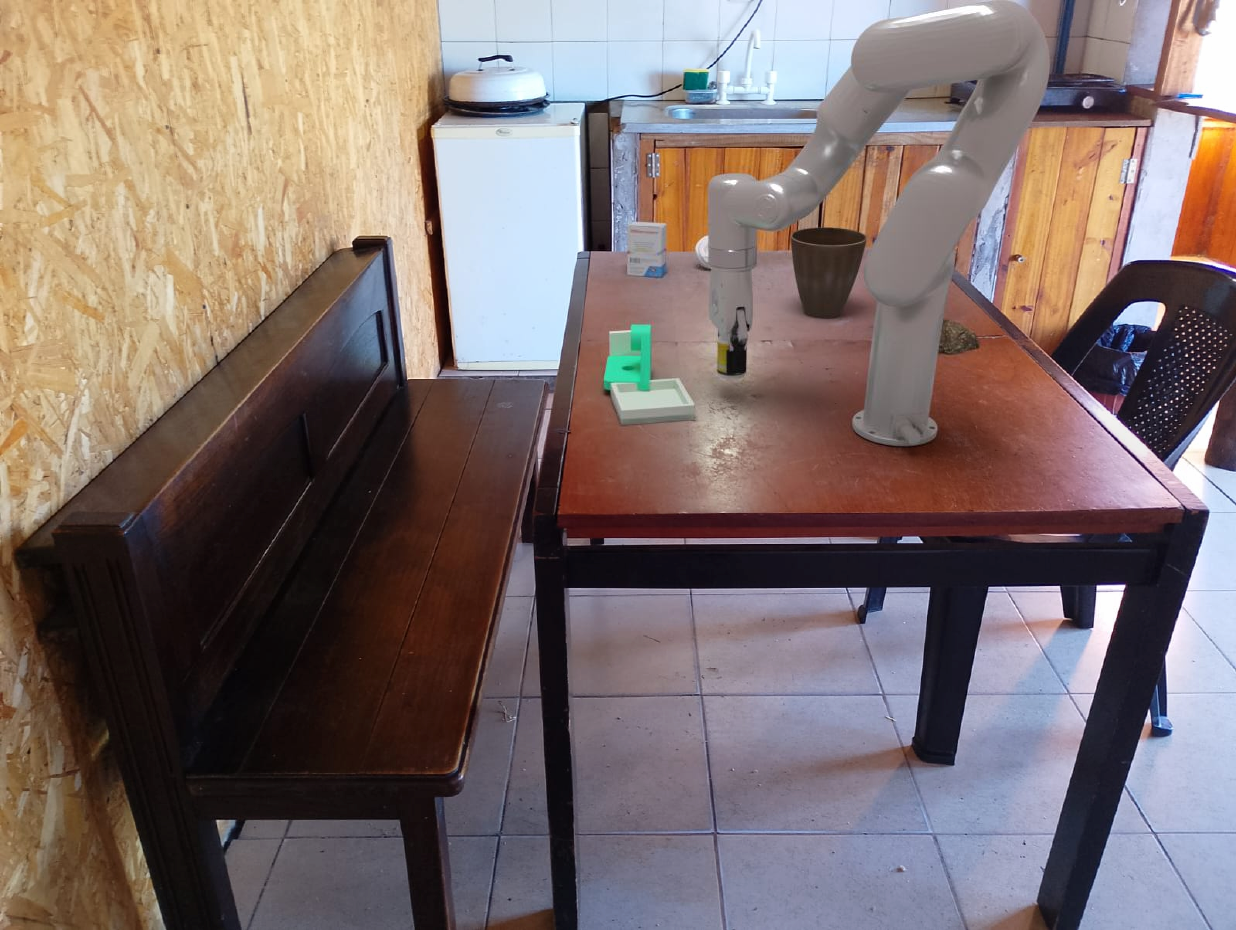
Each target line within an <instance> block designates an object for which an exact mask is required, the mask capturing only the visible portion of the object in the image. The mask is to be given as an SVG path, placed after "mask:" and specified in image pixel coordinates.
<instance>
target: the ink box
mask: <svg viewBox="0 0 1236 930" xmlns="http://www.w3.org/2000/svg"><path fill="white" fill-rule="evenodd" d="M667 227H668V225H667V223H663V222H650V221H649V222H648V221H632V222H631V223H628V224H627V226H626V262H627V263H626V274H627V276H635V277H648V278H662V277H664V275H665V274H666V273H667Z"/></svg>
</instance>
